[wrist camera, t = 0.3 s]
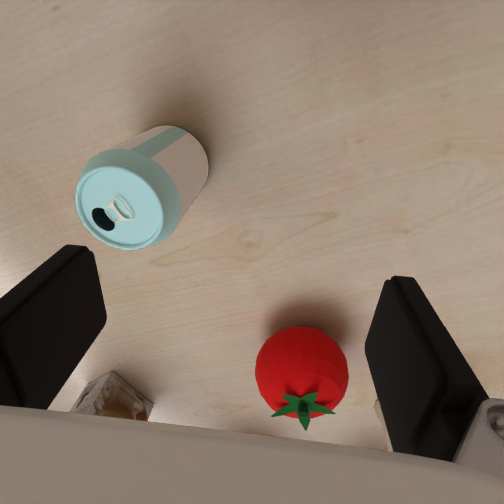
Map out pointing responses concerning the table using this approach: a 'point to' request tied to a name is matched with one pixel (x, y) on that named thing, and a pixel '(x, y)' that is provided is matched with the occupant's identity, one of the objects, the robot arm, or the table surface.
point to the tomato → (301, 373)
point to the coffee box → (112, 400)
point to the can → (141, 187)
